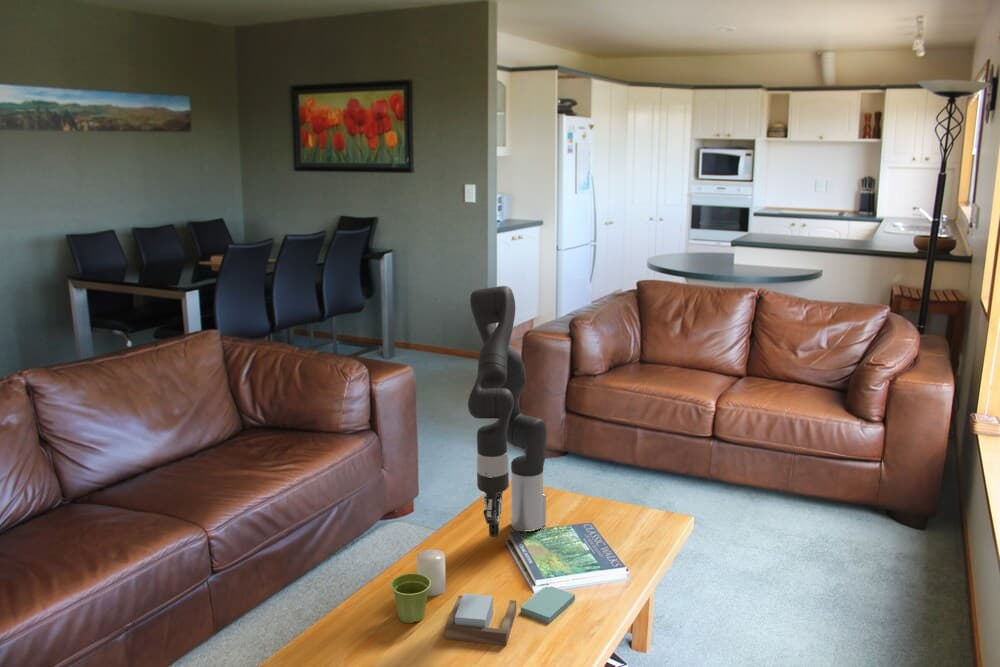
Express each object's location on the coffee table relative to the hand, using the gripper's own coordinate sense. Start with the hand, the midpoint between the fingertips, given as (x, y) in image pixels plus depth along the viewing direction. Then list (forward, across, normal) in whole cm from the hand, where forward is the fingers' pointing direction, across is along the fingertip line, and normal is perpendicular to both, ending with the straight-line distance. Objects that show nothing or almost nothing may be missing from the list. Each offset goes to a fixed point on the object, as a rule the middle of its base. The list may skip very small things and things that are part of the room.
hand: (494, 535), depth 201 cm
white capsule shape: (+16, 0, -16) cm, 23 cm away
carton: (+16, +14, -3) cm, 21 cm away
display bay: (+16, +13, -1) cm, 20 cm away
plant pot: (+16, +13, -18) cm, 27 cm away
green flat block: (+17, +3, +13) cm, 22 cm away
